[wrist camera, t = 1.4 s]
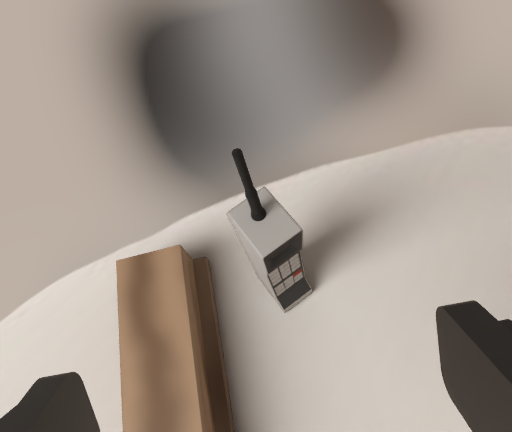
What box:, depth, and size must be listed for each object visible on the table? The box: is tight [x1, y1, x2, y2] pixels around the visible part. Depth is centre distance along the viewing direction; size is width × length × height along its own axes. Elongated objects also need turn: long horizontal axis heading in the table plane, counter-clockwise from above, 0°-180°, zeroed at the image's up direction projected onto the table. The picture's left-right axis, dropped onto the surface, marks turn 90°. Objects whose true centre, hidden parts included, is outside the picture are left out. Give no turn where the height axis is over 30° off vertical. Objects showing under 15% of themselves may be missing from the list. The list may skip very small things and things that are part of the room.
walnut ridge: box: [116, 245, 235, 432], centre depth 42 cm, size 10×22×6 cm, turn 11°
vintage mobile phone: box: [226, 148, 312, 313], centre depth 36 cm, size 4×5×25 cm
